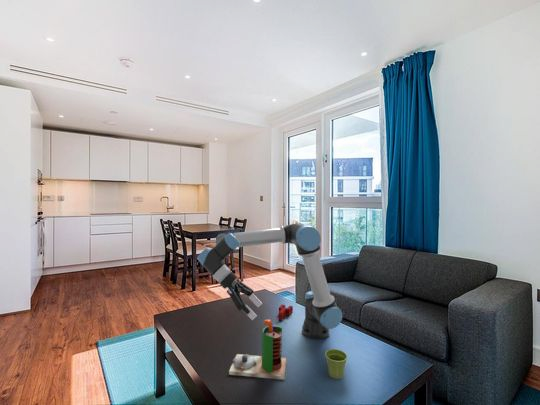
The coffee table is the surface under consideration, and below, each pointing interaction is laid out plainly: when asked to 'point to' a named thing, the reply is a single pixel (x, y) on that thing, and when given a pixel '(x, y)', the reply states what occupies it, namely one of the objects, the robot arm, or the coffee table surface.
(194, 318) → the coffee table surface
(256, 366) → the board
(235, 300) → the robot arm
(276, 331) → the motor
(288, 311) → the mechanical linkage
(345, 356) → the plant pot
